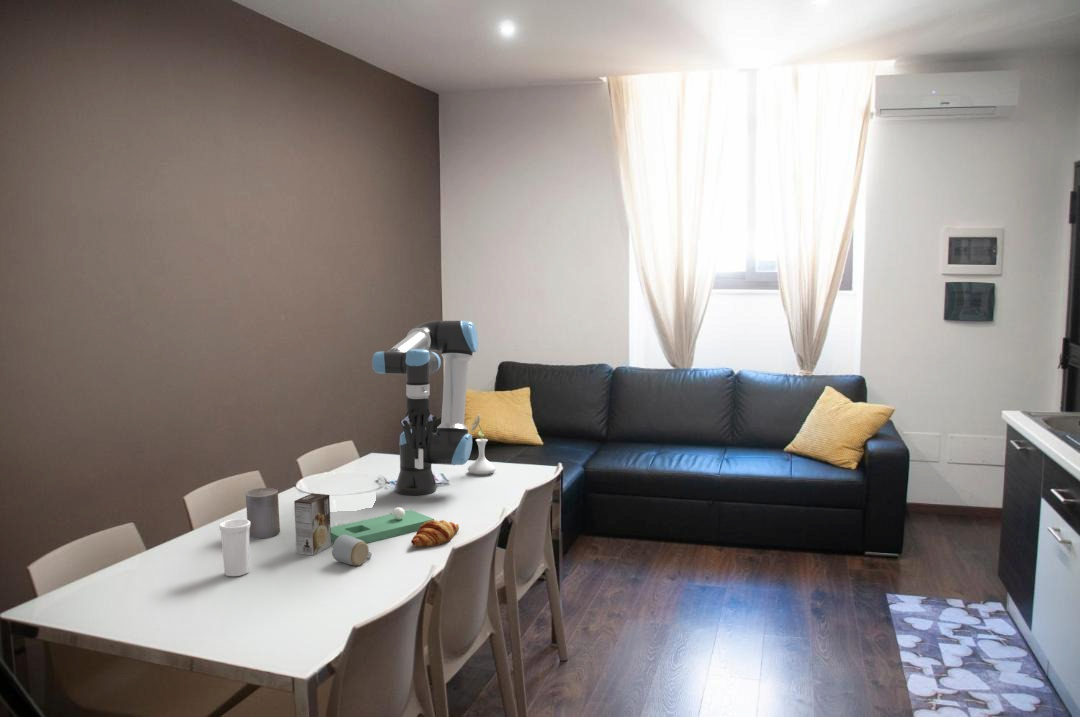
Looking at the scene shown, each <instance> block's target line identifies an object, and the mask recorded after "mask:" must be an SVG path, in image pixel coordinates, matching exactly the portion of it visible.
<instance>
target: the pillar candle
mask: <svg viewBox="0 0 1080 717" xmlns="http://www.w3.org/2000/svg"><path fill="white" fill-rule="evenodd" d="M245 502H246V503H245V504H246V520H249V521H250V522H251V523H250V528H249V539H250V538H251V539H256V540H257V539H270V538H273V537H276V536H278V535H279V534H280V532H281V525H280V507H279V505H280V504H279V491H278V489H276V488H272V487H261V488H260V487H259V488H254V489H251V490H248V491H247V492H246V493H245Z"/></svg>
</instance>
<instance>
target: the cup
mask: <svg viewBox="0 0 1080 717" xmlns="http://www.w3.org/2000/svg"><path fill="white" fill-rule="evenodd" d="M250 523H251V522H250V521H249V520H247V518H246V519H245V518H233V519H228V520H225V521H224V520H223V522H220V524H219V526H218V527H219V531H220V537H221V547H222V559H223V569H224V575H225V576H228V577H240V576H244V575H246V574H248V573H249V572H250V537H249V528H250Z"/></svg>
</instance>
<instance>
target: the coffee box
mask: <svg viewBox="0 0 1080 717" xmlns="http://www.w3.org/2000/svg"><path fill="white" fill-rule="evenodd" d="M330 500H331V499H330V494H324V493H313V492H312V493H310V494H307V495H305V496H302V497H300V498H298V499H295V500H293V501H294V525H295V526H294V528H295V551H296V552H295V553H296V554H300V555H307V556H315V555H317V554H319V553H321V552H323V551H324V550H326V549H328V548H330V547H332V541H331V527H332V526H331V507H330V506H331V505H330Z"/></svg>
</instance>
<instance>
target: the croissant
mask: <svg viewBox="0 0 1080 717" xmlns="http://www.w3.org/2000/svg"><path fill="white" fill-rule="evenodd" d="M459 529H460V526H459V524H458V523H454V522H452V521H450V522H449V521H445V520H439V521H438V520H435V519H434V520H432V521H428V522H425V523H424V524H423V525H421V526H420V528H419V530H418V531H416V534H415V535H414V536H413V537H412V539H411V541H410V542H411V544H412V545H413V546H415V547H425V548H428V547H429V548H430V547H432V546H439V545H441V544H444V543H448V542H449V541H450V540H451V539H452V538H453V537H454V536H455V535H456V534H457V533H458V532H459Z"/></svg>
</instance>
